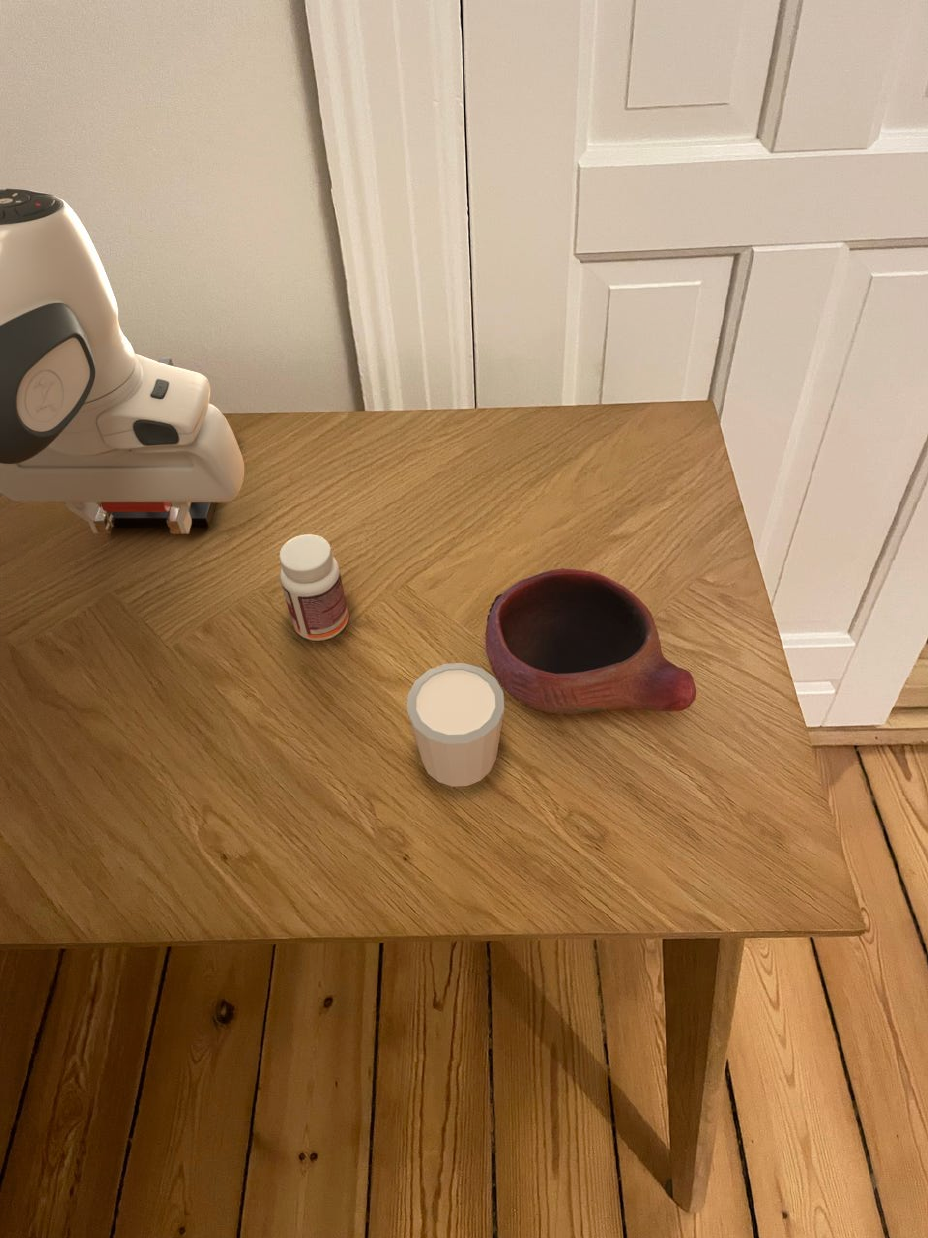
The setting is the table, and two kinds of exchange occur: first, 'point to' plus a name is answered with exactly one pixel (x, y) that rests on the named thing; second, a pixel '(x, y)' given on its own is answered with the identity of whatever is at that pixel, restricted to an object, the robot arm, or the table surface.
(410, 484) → the table surface
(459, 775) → the shot glass
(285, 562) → the pill bottle
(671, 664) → the bowl
